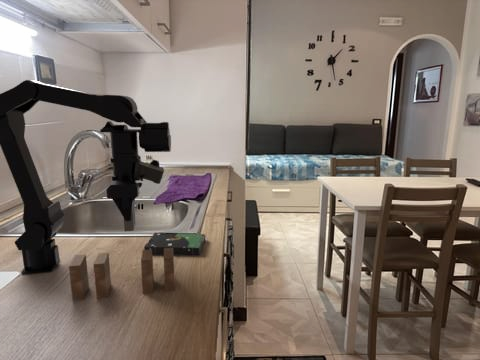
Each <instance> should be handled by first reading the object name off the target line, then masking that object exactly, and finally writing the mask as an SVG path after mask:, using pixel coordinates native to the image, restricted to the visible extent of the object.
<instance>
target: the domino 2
mask: <svg viewBox="0 0 480 360" xmlns="http://www.w3.org/2000/svg"><path fill="white" fill-rule="evenodd" d="M109 253H110V252H99V253H97V255H96V259H95V260H94V263H93V274H94V285H95V286H94V287H95V294H96V295H95V296H96V299H103V298H108V296H109V292H110V289H111V286H112V278H111V277H112V276H111V267H110V266H111V265H110V254H109Z"/></svg>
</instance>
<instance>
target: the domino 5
mask: <svg viewBox="0 0 480 360" xmlns="http://www.w3.org/2000/svg"><path fill="white" fill-rule="evenodd" d="M174 256H175V255H173V248H164V255H163V270H164V271H163V272H164V292H173V291H175V290H176V288H175V287H176V285H175V262H174V261H175V260H174V258H175V257H174Z"/></svg>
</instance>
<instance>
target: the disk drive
mask: <svg viewBox="0 0 480 360" xmlns="http://www.w3.org/2000/svg"><path fill="white" fill-rule="evenodd" d="M204 242H206V234H204V233H198V232H197V233H196V232H193V233H190V232H189V233H187V232H161V231H160V232H159V231H158V232H154V233H153V235H151V237H150V238H149V240H148V243H147V242H146V244H144V247H143V250H150V249H152V256H153V255H158V256H159V255H162V256H164V248H173V255H174V256H201V253H202V252H203V248H204V246H203V245H205V243H204Z"/></svg>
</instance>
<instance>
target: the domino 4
mask: <svg viewBox="0 0 480 360" xmlns="http://www.w3.org/2000/svg"><path fill="white" fill-rule="evenodd" d="M153 261H154V258H153V255H152V249H150V250H144V249H143V250H142V252H141V257H140V267H141V269H140V270H141V283H142V284H141V285H142V294H152V293H154V284H155V283H154V279H155V278H154V277H155V275H154V262H153Z"/></svg>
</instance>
